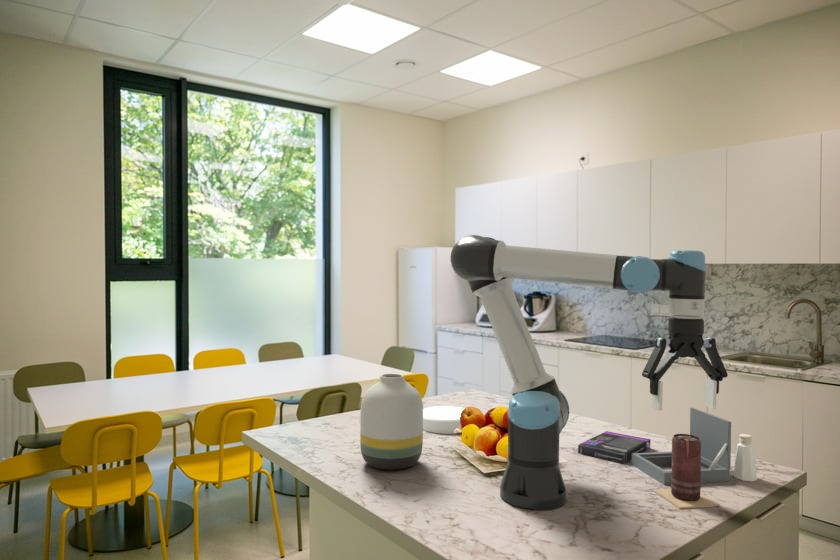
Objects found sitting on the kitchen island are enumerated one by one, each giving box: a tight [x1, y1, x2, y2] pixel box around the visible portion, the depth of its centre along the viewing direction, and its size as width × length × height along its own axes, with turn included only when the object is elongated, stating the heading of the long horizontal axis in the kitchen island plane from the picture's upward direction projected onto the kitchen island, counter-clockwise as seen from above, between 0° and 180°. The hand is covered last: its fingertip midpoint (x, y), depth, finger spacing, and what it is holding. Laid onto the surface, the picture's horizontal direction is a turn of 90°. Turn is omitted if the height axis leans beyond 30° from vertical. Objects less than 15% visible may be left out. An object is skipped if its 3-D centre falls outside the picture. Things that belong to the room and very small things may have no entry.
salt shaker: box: [732, 433, 758, 482], centre depth 144 cm, size 5×5×11 cm
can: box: [670, 433, 701, 501], centre depth 130 cm, size 6×6×14 cm
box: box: [577, 431, 651, 465], centre depth 165 cm, size 14×4×20 cm
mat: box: [653, 488, 721, 510], centre depth 130 cm, size 10×10×1 cm
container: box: [423, 405, 465, 435], centre depth 192 cm, size 20×20×5 cm
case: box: [631, 407, 732, 486], centre depth 147 cm, size 18×15×15 cm
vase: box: [359, 373, 424, 471], centre depth 152 cm, size 17×17×24 cm
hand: (684, 408), depth 131 cm, fingers open, 13 cm apart
